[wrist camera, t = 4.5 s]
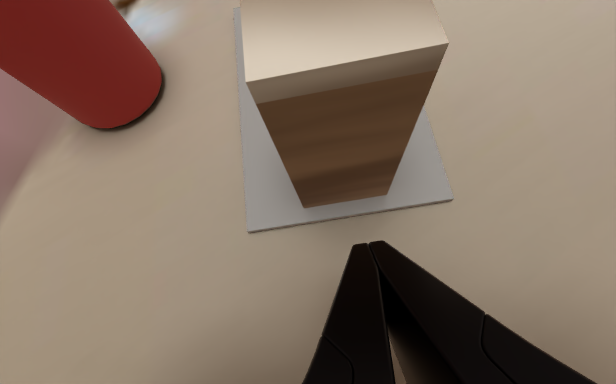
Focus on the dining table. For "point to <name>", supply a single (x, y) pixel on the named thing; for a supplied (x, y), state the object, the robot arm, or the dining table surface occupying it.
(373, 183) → the walnut block
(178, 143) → the dining table surface
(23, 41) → the beer can
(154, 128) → the dining table surface
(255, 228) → the rubber mat
